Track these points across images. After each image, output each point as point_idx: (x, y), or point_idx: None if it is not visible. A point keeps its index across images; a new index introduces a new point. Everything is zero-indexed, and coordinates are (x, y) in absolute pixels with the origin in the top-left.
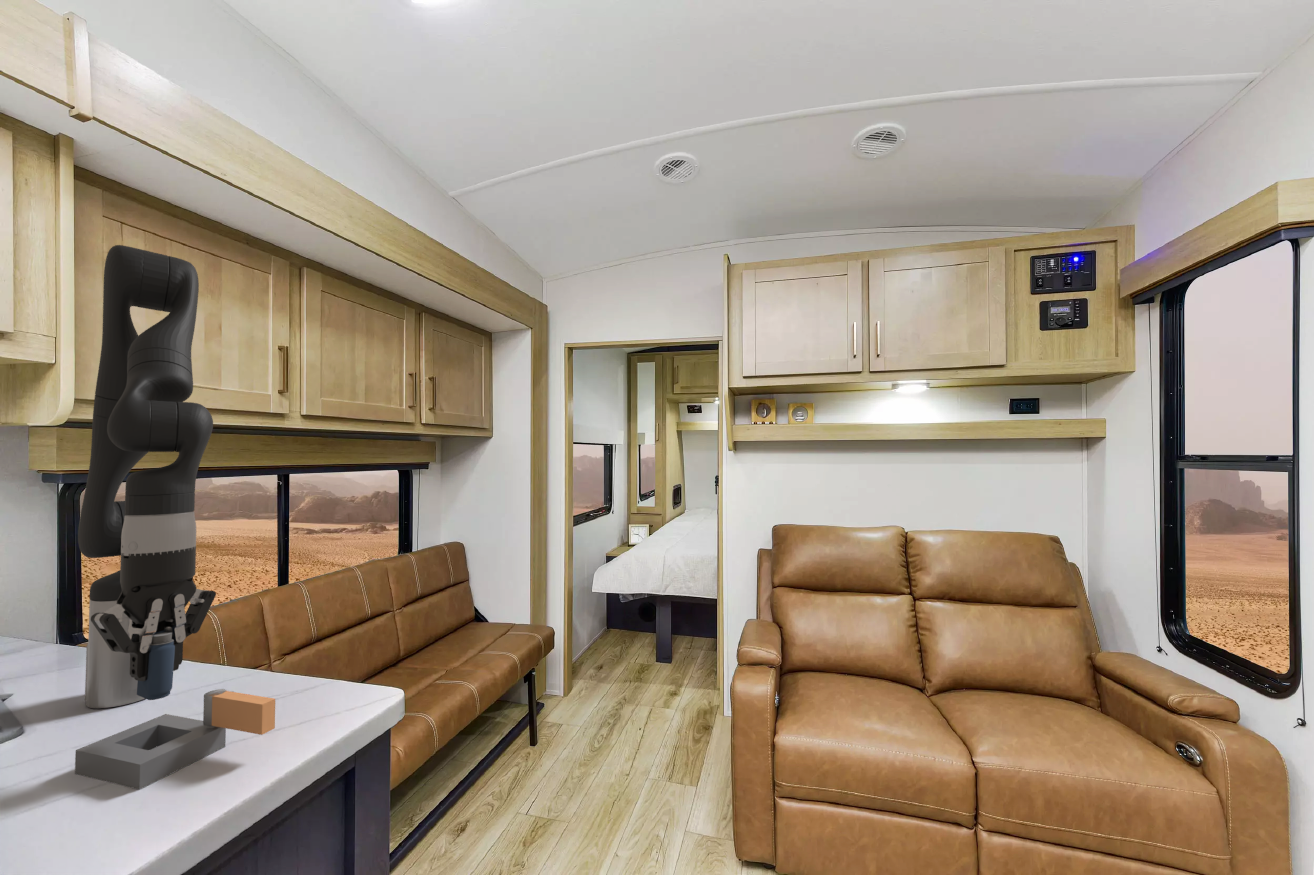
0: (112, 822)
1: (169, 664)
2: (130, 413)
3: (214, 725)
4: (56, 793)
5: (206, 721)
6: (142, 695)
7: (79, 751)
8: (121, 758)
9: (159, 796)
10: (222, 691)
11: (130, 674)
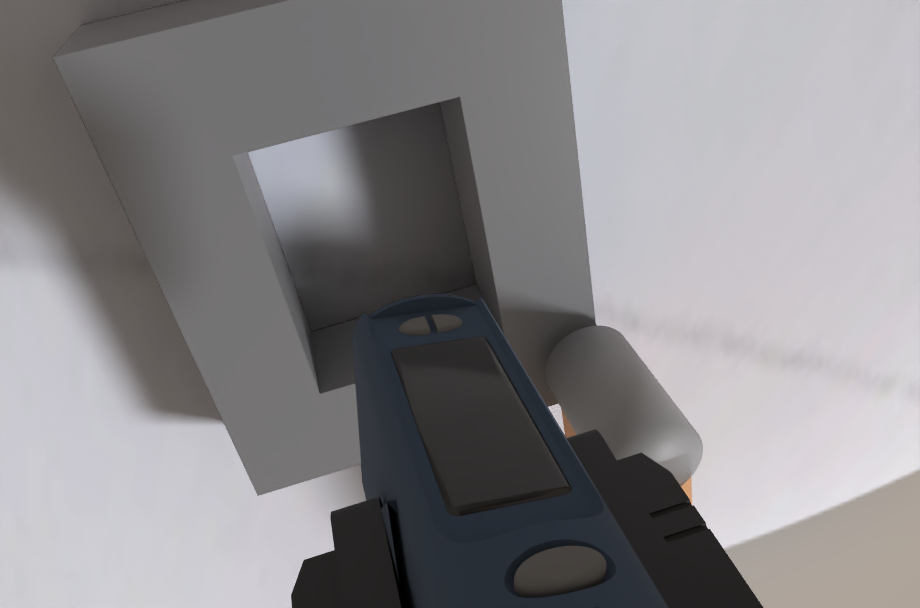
0: (150, 560)
1: None
2: None
3: (562, 414)
4: (2, 187)
5: (555, 396)
6: (360, 427)
7: (71, 95)
8: (218, 387)
9: (287, 511)
10: (678, 474)
11: (295, 596)
